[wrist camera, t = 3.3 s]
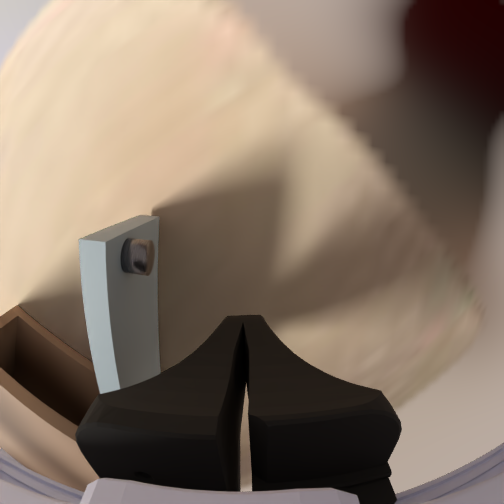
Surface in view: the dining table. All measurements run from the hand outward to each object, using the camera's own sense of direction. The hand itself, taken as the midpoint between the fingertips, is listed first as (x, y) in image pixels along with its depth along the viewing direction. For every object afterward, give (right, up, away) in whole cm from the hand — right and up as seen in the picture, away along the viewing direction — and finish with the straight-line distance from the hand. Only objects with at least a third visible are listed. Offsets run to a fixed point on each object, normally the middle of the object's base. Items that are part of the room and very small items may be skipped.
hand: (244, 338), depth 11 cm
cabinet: (-11, -6, +3) cm, 13 cm away
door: (-4, 0, +1) cm, 4 cm away
